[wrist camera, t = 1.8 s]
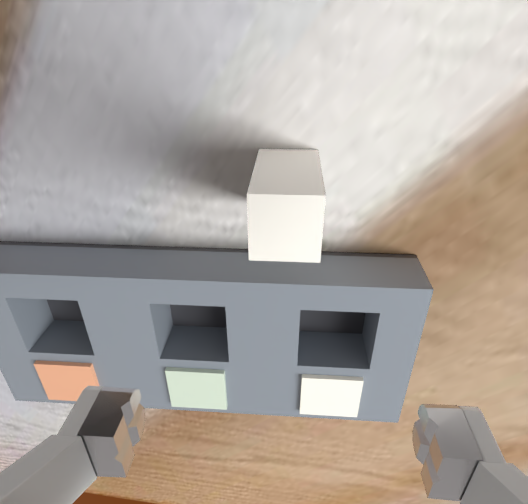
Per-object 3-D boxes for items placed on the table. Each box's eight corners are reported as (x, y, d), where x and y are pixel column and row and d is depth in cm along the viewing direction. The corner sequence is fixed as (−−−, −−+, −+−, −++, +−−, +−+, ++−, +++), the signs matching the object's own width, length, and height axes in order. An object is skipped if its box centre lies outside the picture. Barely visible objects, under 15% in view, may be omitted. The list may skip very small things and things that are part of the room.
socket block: (-7, 241, 32) (-52, 274, 28) (416, 254, 30) (435, 293, 26) (43, 362, 40) (13, 404, 35) (387, 380, 37) (398, 426, 33)
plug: (259, 148, 27) (246, 193, 20) (318, 149, 27) (326, 195, 20) (259, 202, 29) (248, 260, 22) (314, 204, 29) (320, 262, 22)
